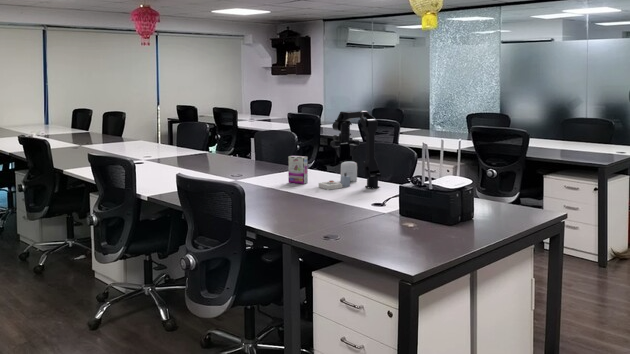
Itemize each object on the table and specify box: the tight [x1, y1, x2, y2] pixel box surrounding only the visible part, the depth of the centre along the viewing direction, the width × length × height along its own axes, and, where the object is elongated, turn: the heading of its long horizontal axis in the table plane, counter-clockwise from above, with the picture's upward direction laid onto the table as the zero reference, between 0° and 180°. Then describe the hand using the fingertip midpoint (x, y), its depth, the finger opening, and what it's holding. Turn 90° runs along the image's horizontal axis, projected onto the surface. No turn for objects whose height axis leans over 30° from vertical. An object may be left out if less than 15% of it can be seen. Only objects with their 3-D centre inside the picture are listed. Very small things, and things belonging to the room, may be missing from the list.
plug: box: [340, 173, 351, 188], centre depth 348 cm, size 4×4×8 cm
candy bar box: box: [287, 155, 309, 185], centre depth 356 cm, size 11×5×16 cm, turn 62°
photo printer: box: [340, 160, 358, 182], centre depth 363 cm, size 10×4×12 cm, turn 98°
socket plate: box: [318, 180, 343, 191], centre depth 344 cm, size 10×10×3 cm
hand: (344, 156), depth 365 cm, fingers open, 9 cm apart
